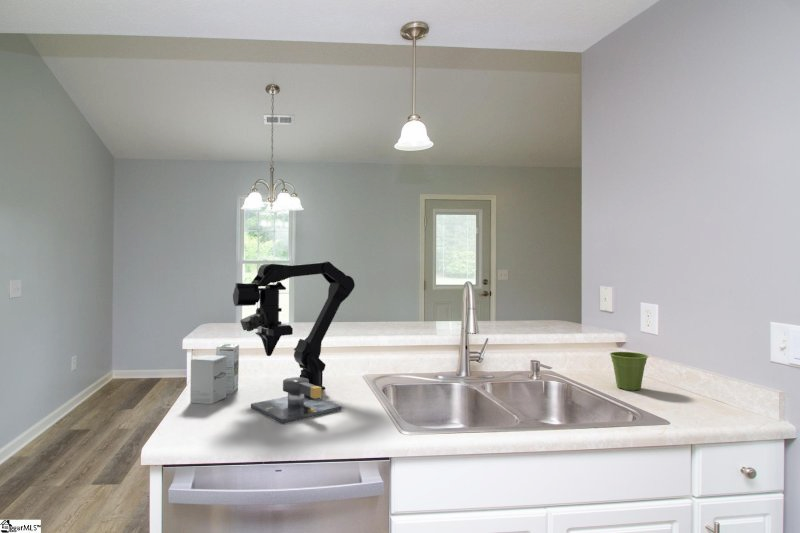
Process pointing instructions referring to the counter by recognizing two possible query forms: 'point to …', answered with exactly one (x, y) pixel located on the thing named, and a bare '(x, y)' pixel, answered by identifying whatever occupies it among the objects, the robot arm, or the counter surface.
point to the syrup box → (230, 365)
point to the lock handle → (301, 387)
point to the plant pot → (628, 369)
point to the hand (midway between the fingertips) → (268, 355)
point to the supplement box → (208, 379)
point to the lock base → (294, 407)
